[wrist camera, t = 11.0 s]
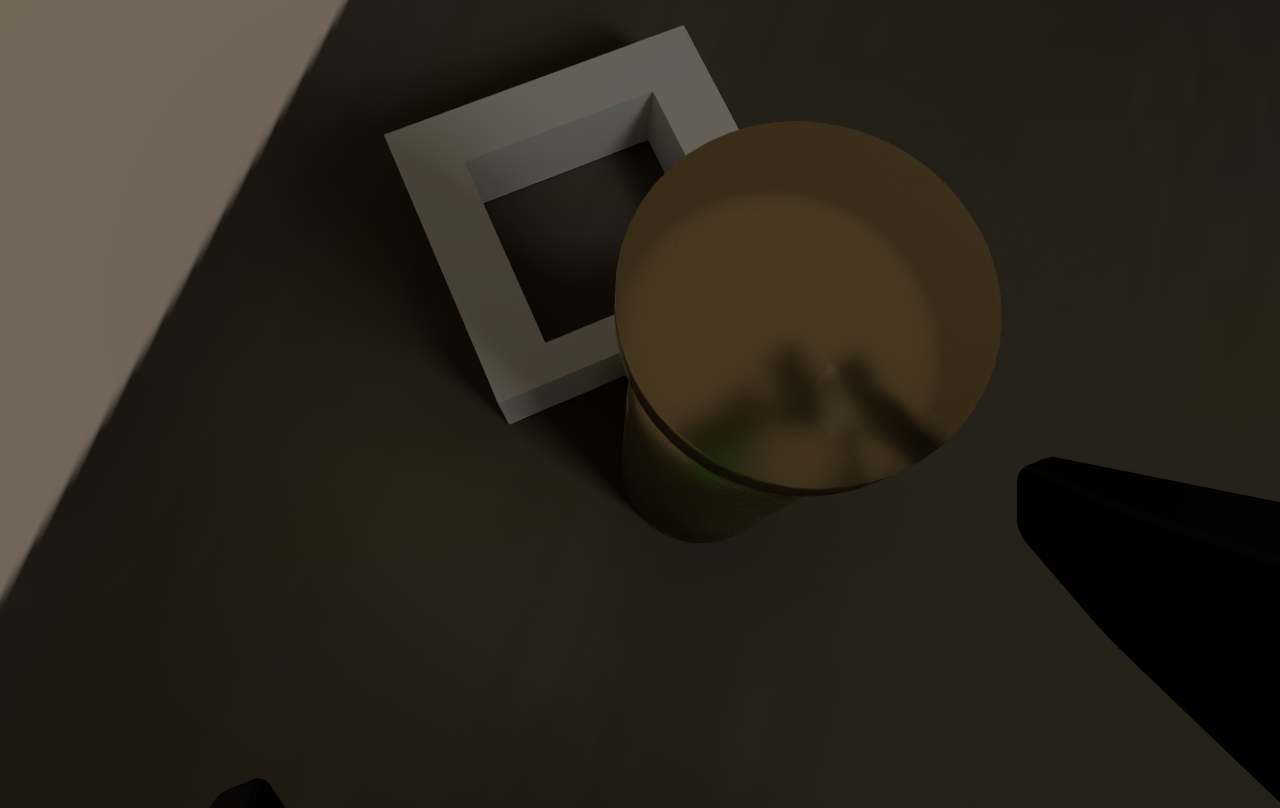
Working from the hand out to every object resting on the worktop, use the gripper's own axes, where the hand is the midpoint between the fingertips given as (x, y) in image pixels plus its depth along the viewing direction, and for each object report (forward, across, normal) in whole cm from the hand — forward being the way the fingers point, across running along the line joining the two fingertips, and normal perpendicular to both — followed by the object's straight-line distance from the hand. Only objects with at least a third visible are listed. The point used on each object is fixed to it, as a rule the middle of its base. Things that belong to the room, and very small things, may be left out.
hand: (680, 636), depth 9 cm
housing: (+17, -4, +1) cm, 17 cm away
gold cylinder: (+12, -4, +6) cm, 14 cm away
